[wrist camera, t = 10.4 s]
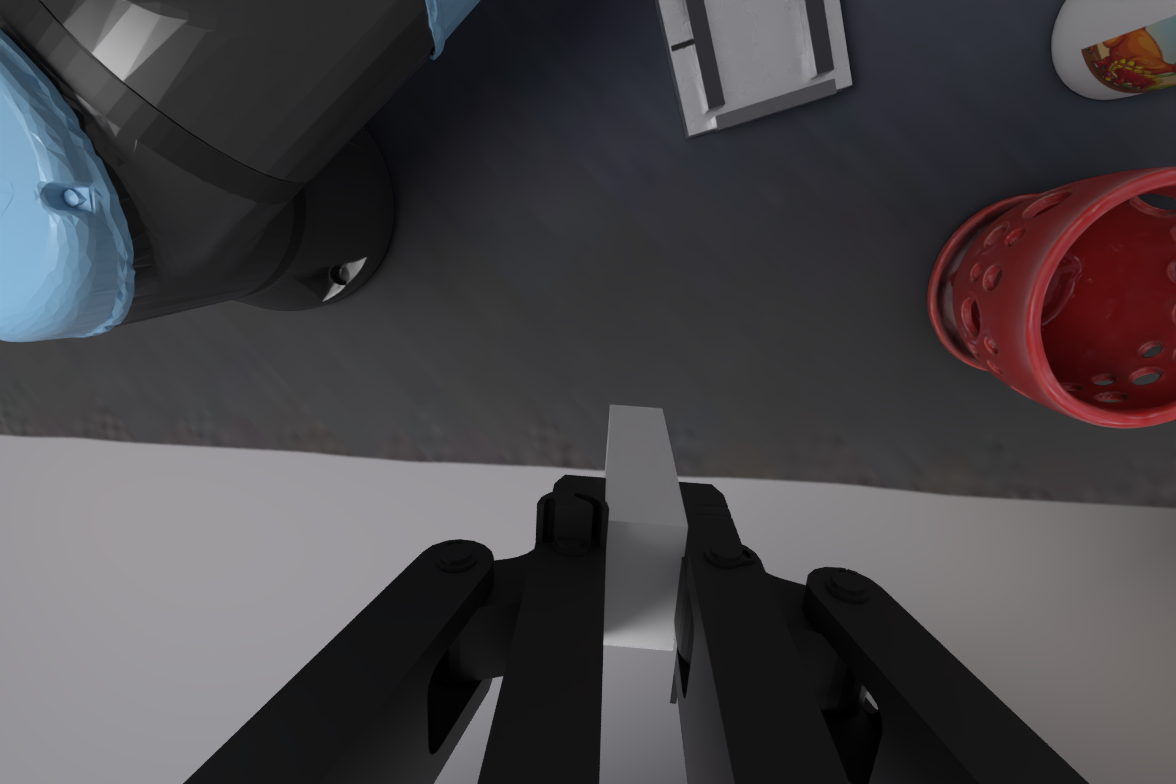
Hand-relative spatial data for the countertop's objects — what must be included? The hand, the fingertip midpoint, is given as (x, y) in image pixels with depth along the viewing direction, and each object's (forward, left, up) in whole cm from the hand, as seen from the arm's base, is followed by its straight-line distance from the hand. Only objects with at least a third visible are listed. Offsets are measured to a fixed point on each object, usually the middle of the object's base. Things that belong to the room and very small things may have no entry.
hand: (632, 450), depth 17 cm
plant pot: (+26, +4, -27) cm, 37 cm away
